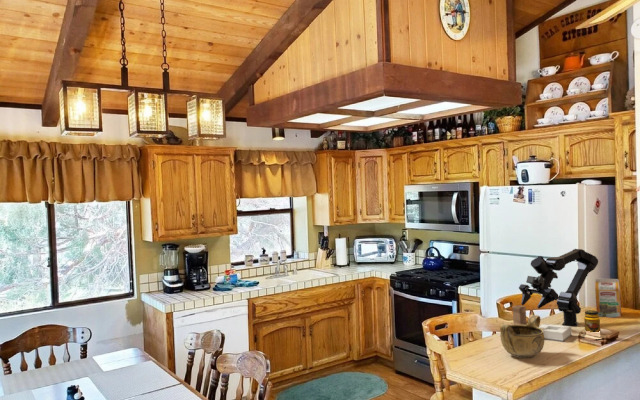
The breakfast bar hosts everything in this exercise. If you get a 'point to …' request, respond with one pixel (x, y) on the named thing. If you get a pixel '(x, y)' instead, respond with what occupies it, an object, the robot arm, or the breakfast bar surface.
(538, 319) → the ceramic bowl
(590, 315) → the condiment
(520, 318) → the peg
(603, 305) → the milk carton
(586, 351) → the breakfast bar surface
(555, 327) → the socket block
